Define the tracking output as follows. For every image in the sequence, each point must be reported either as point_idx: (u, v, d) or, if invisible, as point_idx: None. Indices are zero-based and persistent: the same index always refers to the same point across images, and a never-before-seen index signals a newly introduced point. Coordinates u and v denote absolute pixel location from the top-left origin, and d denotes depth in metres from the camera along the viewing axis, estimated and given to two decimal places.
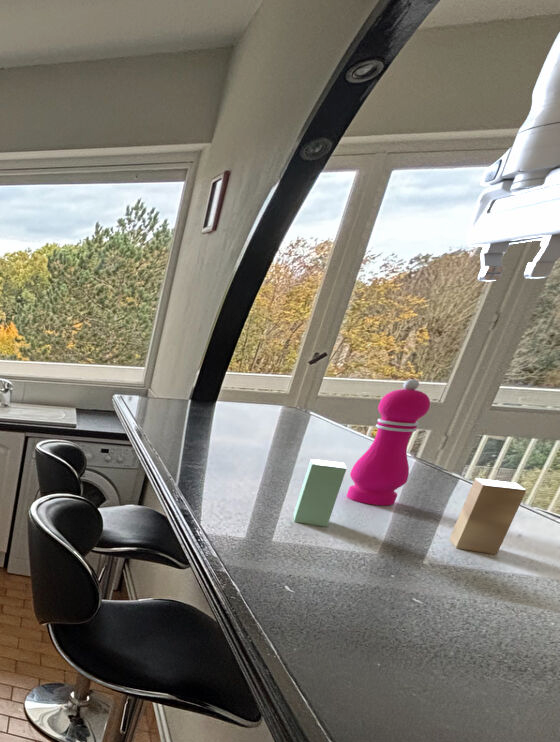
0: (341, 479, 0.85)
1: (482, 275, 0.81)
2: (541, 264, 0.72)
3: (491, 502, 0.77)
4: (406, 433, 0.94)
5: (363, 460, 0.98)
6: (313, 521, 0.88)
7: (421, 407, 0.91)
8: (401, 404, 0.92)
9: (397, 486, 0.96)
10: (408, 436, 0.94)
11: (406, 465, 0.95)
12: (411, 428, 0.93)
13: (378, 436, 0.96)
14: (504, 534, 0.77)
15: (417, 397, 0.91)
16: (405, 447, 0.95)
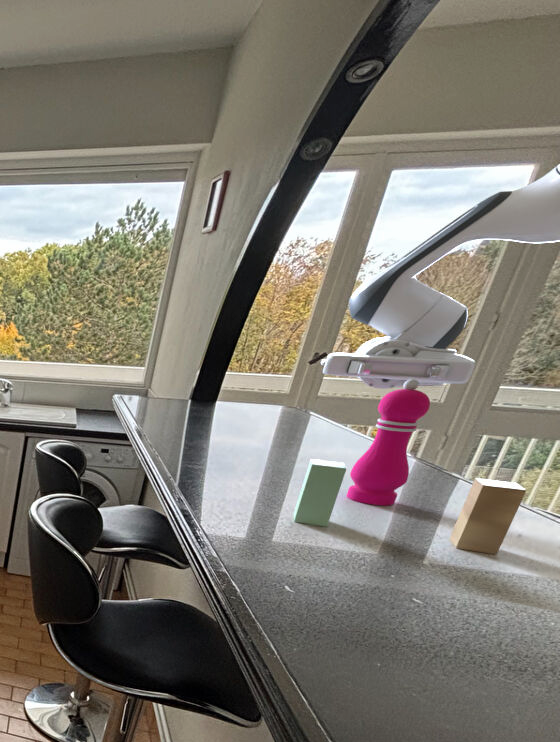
0: (341, 479, 0.85)
1: (432, 378, 1.00)
2: (358, 370, 1.05)
3: (491, 502, 0.77)
4: (406, 433, 0.94)
5: (363, 460, 0.98)
6: (313, 521, 0.88)
7: (421, 407, 0.91)
8: (401, 404, 0.92)
9: (397, 486, 0.96)
10: (408, 436, 0.94)
11: (406, 465, 0.95)
12: (411, 428, 0.93)
13: (378, 436, 0.96)
14: (504, 534, 0.77)
15: (417, 397, 0.91)
16: (405, 447, 0.95)
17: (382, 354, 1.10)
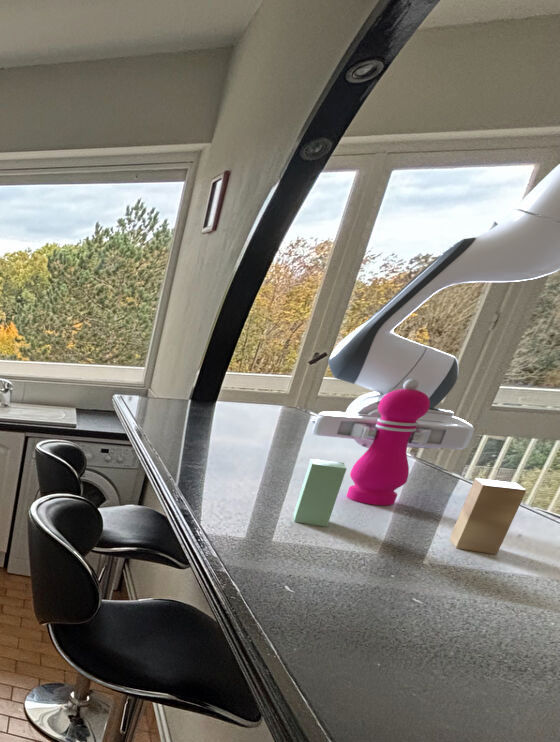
0: (341, 479, 0.85)
1: (413, 443, 0.95)
2: (362, 434, 0.98)
3: (491, 502, 0.77)
4: (406, 433, 0.94)
5: (363, 460, 0.98)
6: (313, 521, 0.88)
7: (421, 407, 0.91)
8: (401, 404, 0.92)
9: (397, 486, 0.96)
10: (408, 436, 0.94)
11: (406, 465, 0.95)
12: (411, 428, 0.93)
13: (378, 436, 0.96)
14: (504, 534, 0.77)
15: (417, 397, 0.91)
16: (405, 447, 0.95)
17: (375, 414, 1.03)
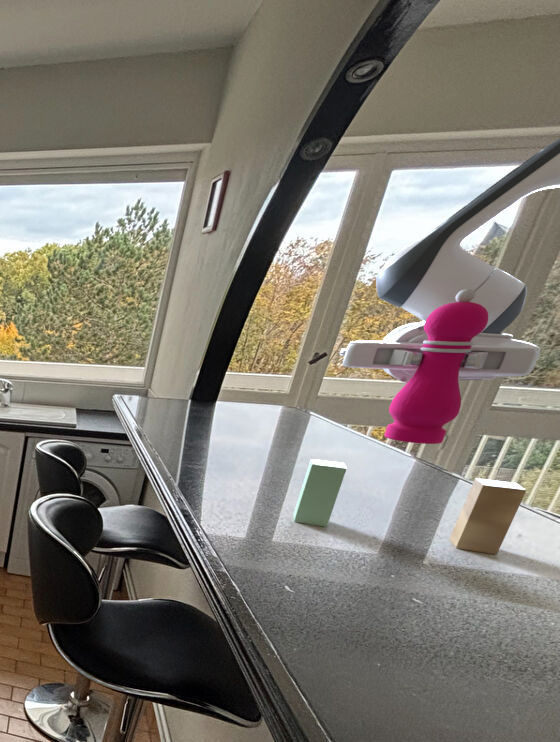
0: (341, 479, 0.85)
1: (467, 368, 0.79)
2: (403, 360, 0.83)
3: (491, 502, 0.77)
4: (459, 355, 0.78)
5: (406, 391, 0.83)
6: (313, 521, 0.88)
7: (478, 321, 0.76)
8: (454, 318, 0.77)
9: (447, 420, 0.81)
10: (461, 359, 0.79)
11: (458, 394, 0.80)
12: (465, 348, 0.78)
13: (424, 361, 0.81)
14: (504, 534, 0.77)
15: (473, 309, 0.76)
16: (457, 372, 0.80)
17: (417, 341, 0.88)
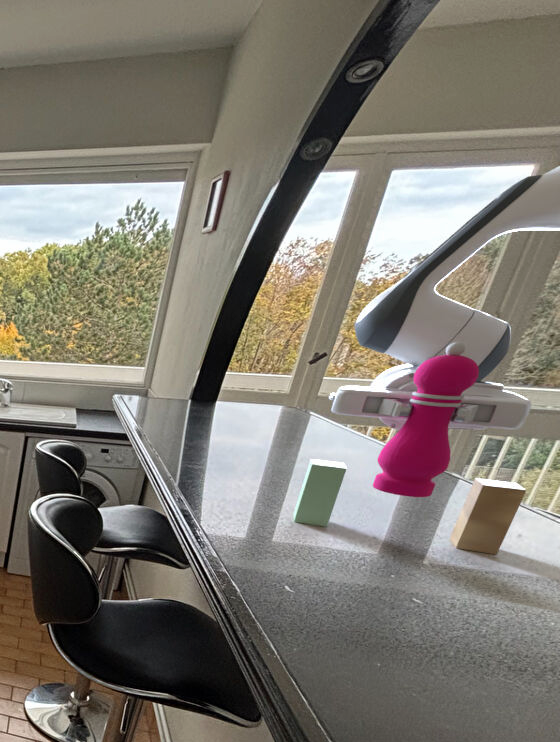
0: (341, 479, 0.85)
1: (457, 421, 0.78)
2: (393, 411, 0.82)
3: (491, 502, 0.77)
4: (448, 409, 0.77)
5: (395, 442, 0.81)
6: (313, 521, 0.88)
7: (468, 376, 0.74)
8: (443, 372, 0.75)
9: (436, 474, 0.79)
10: (451, 412, 0.77)
11: (447, 448, 0.78)
12: (455, 402, 0.76)
13: (413, 413, 0.79)
14: (504, 534, 0.77)
15: (464, 364, 0.74)
16: (446, 426, 0.78)
17: (407, 389, 0.86)
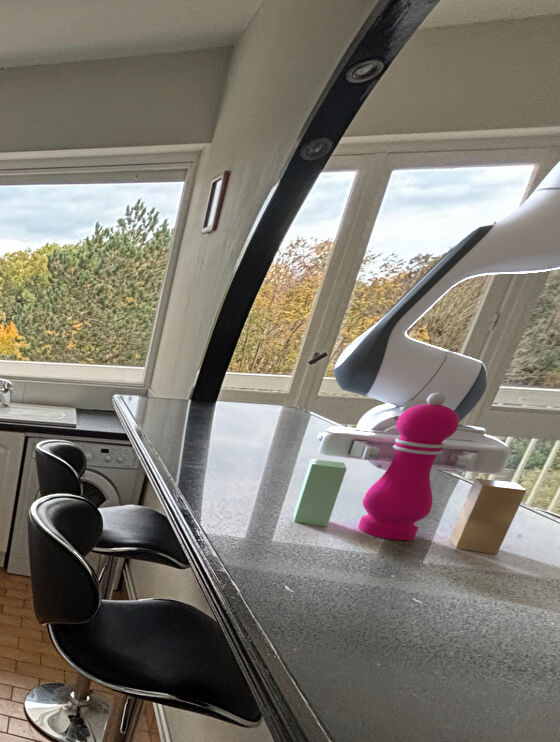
0: (341, 479, 0.85)
1: (457, 469, 0.79)
2: (362, 454, 0.85)
3: (491, 502, 0.77)
4: (430, 456, 0.79)
5: (378, 487, 0.83)
6: (313, 521, 0.88)
7: (448, 426, 0.77)
8: (424, 422, 0.78)
9: (419, 518, 0.81)
10: (432, 460, 0.80)
11: (429, 494, 0.80)
12: (436, 450, 0.78)
13: (396, 459, 0.82)
14: (504, 534, 0.77)
15: (444, 414, 0.77)
16: (428, 472, 0.80)
17: (393, 431, 0.89)
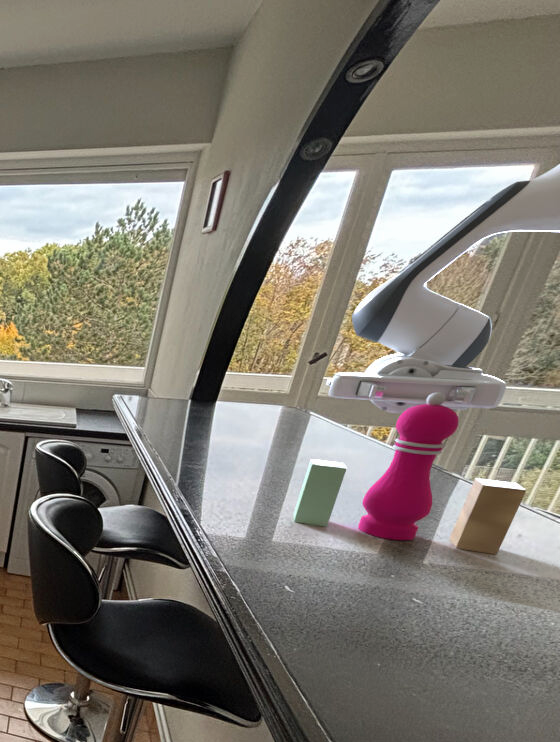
0: (341, 479, 0.85)
1: (456, 402, 0.86)
2: (369, 392, 0.92)
3: (491, 502, 0.77)
4: (430, 456, 0.79)
5: (378, 487, 0.83)
6: (313, 521, 0.88)
7: (448, 426, 0.77)
8: (424, 422, 0.78)
9: (418, 518, 0.81)
10: (432, 460, 0.80)
11: (429, 494, 0.80)
12: (436, 450, 0.78)
13: (396, 459, 0.82)
14: (504, 534, 0.77)
15: (443, 414, 0.77)
16: (428, 472, 0.80)
17: (396, 374, 0.96)
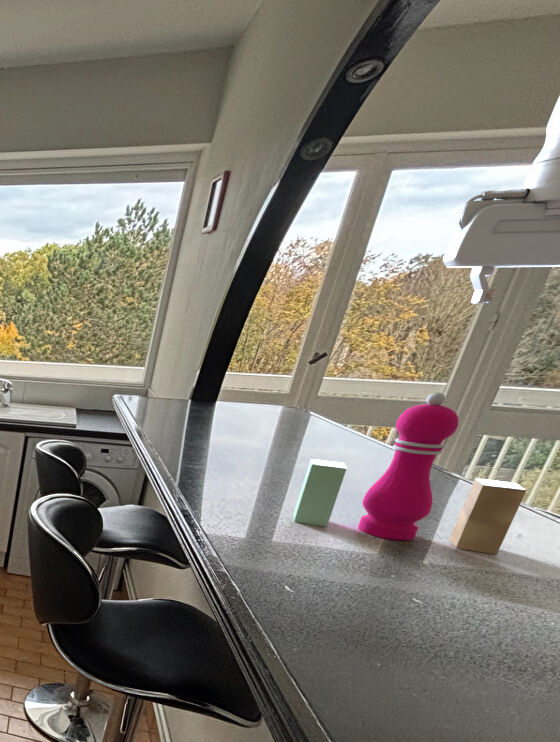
0: (341, 479, 0.85)
1: None
2: (476, 291, 0.82)
3: (491, 502, 0.77)
4: (430, 456, 0.79)
5: (378, 487, 0.83)
6: (313, 521, 0.88)
7: (448, 426, 0.77)
8: (424, 422, 0.78)
9: (418, 518, 0.81)
10: (432, 460, 0.80)
11: (429, 494, 0.80)
12: (436, 450, 0.78)
13: (396, 459, 0.82)
14: (504, 534, 0.77)
15: (443, 414, 0.77)
16: (428, 472, 0.80)
17: (553, 215, 0.75)
